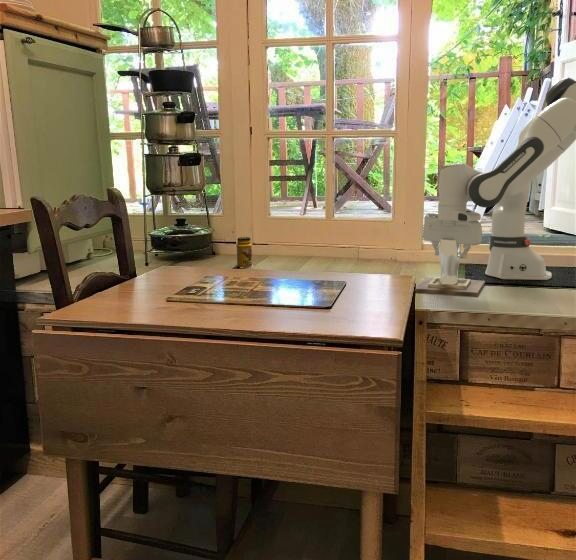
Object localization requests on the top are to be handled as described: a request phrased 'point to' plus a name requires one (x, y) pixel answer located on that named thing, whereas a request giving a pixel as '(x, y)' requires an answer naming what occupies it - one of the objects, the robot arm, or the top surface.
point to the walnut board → (450, 287)
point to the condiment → (244, 253)
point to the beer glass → (449, 261)
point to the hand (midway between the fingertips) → (450, 256)
